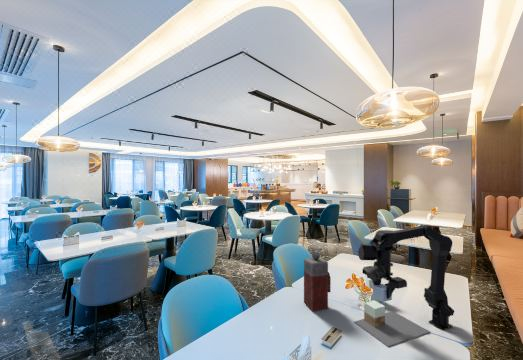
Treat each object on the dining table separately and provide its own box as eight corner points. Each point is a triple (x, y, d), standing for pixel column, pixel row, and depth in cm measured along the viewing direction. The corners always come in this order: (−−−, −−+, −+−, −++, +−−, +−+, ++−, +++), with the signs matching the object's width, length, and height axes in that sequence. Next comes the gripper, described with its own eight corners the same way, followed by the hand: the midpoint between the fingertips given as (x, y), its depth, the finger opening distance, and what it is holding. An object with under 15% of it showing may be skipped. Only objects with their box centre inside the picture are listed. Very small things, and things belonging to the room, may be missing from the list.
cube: (382, 294, 114) (382, 283, 114) (391, 299, 109) (392, 288, 109) (373, 296, 112) (374, 285, 112) (383, 301, 107) (383, 290, 107)
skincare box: (376, 298, 136) (376, 276, 136) (380, 302, 131) (380, 279, 131) (365, 299, 135) (365, 276, 135) (369, 302, 131) (369, 279, 131)
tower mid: (374, 308, 116) (374, 300, 116) (385, 315, 111) (385, 306, 111) (364, 311, 114) (364, 302, 114) (374, 318, 109) (374, 308, 109)
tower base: (374, 317, 116) (374, 308, 116) (385, 324, 111) (385, 315, 111) (364, 320, 114) (364, 311, 114) (374, 327, 109) (374, 318, 109)
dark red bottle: (332, 308, 126) (332, 251, 126) (311, 311, 122) (312, 253, 122) (322, 300, 134) (323, 247, 134) (303, 302, 131) (303, 248, 131)
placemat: (392, 311, 122) (392, 310, 122) (429, 332, 106) (429, 331, 106) (353, 322, 113) (353, 321, 113) (388, 347, 97) (388, 346, 97)
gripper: (353, 256, 116) (352, 290, 116) (388, 269, 99) (387, 309, 99) (371, 253, 120) (371, 286, 120) (408, 266, 103) (407, 304, 103)
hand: (382, 295), depth 111 cm, fingers closed on cube, 5 cm apart
